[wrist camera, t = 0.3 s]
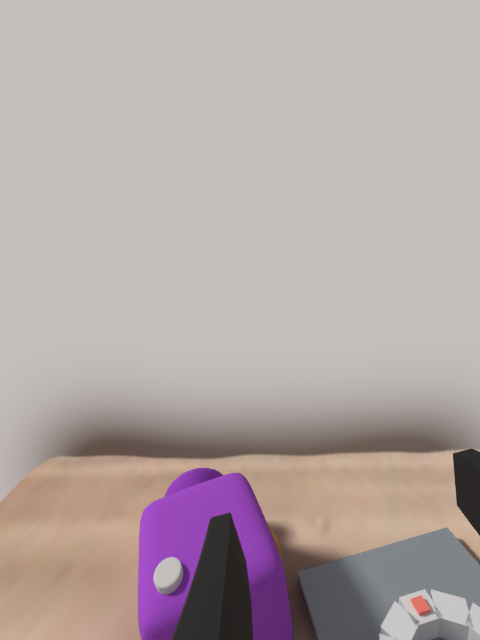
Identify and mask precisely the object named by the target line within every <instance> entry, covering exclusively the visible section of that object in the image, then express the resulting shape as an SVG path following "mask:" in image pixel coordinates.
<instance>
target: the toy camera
mask: <svg viewBox="0 0 480 640" xmlns="http://www.w3.org/2000/svg"><path fill="white" fill-rule="evenodd" d="M230 512H231V515H232V518H233V521H234V525H235V528H236V531H237V534H238V537H239V540H240V543H241V546H242V549H243V553H244V556H245V559H246V563H247V571H248V579H249V587H250V595H251V604H252V626H253V640H293V625H292V617H291V610H290V603H289V596H288V590H287V583H286V577H285V571H284V567H283V561H282V554H281V548H280V542H279V540H278V538H277V537H276V535H275V533H274V532H273V530H272V529H271V528H270V526H269V525H268V523H267V522H266V520H265V518H264V515H263V513H262V511H261V508H260V506H259V504H258V501H257V499H256V497H255V495H254V492H253V490H252V488H251V486H250V484H249V482H248V481H247V479H246V478H245V477H244V476H243V475H242V474H240V473H231V474H227V475H224V476H223V475H222V474H221V473H220V472H218V471H216V470H214V469H210V468H197V469H193V470H190V471H187V472H185V473H183V474H182V475H180V476H179V477H178V478H177V479H175V480H174V481H173V483H172V484H171V485H170V486H169V488H168V490H167V492H166V494H165V497H163V498H161V499H159V500H157V501H155V502H153V503H151V504H149V505H148V506H147V507H146V508H145V509H144V511H143V513H142V517H141V522H140V534H139V575H138V621H139V630H140V635H141V639H142V640H171V639H172V636H173V633H174V631H175V628H176V625H177V623H178V620H179V617H180V615H181V612H182V609H183V607H184V604H185V601H186V598H187V595H188V592H189V589H190V586H191V583H192V580H193V577H194V574H195V571H196V568H197V564H198V561H199V558H200V554H201V551H202V547H203V544H204V540H205V536H206V532H207V528H208V524H209V521H210V519H211V518H212V517H215V516H219V515H222V514H226V513H230Z"/></svg>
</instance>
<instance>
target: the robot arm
mask: <svg viewBox="0 0 480 640" xmlns="http://www.w3.org/2000/svg"><path fill="white" fill-rule="evenodd" d="M453 460H454V473H455V486H456V498H457V506H458V507H459V508H460V510H461V511H462V513H463V514H464V515H465V517H466V518H467V519H468V521H469V522H470V523H471V525H472V526H473V527H474V529H475V530H476V531H477V533H478V534H479V535H480V452H478V451H476V450H474V449H469V450H465V451H461V452H457V453H454V454H453ZM171 640H253V626H252V604H251V595H250V587H249V579H248V571H247V563H246V559H245V556H244V553H243V549H242V546H241V543H240V540H239V537H238V534H237V531H236V528H235V525H234V521H233V518H232V515H231V512H230V513H226V514H222V515H219V516H215V517H212V518H211V519H210V521H209V524H208V528H207V532H206V536H205V540H204V544H203V547H202V551H201V554H200V558H199V561H198V564H197V568H196V571H195V574H194V577H193V580H192V583H191V586H190V589H189V592H188V595H187V598H186V601H185V604H184V607H183V609H182V612H181V615H180V617H179V620H178V623H177V625H176V628H175V631H174V633H173V636H172V639H171Z"/></svg>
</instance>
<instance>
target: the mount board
mask: <svg viewBox="0 0 480 640" xmlns="http://www.w3.org/2000/svg"><path fill="white" fill-rule="evenodd" d="M297 573H298V581H299V584H300V587H301V591H302V594H303V597H304V600H305V603H306V607H307V610H308V613H309V616H310V619H311V623H312V626H313V629H314V632H315V635H316V639H317V640H480V565H479V563H478V562H477V561H476V560H475V559H474V558H473V557H472V555H471V554H470V553H469V552H468V551H467V550H466V549H465V547H464V546H463V545H462V544H461V543H460V542H459V541H458V539H457V538H456V537H455V536H454V535H453V534H452V533H451V532H450V530H449V529H448V528H444V529H440V530H437V531H434V532H430V533H427V534H423V535H420V536H417V537H413V538H410V539H406V540H403V541H400V542H396V543H393V544H389V545H386V546H383V547H379V548H376V549H373V550H369V551H366V552H362V553H359V554H356V555H352V556H349V557H345V558H342V559H339V560H335V561H332V562H328V563H325V564H322V565H318V566H315V567H312V568H308V569H305V570H301V571H298V572H297Z"/></svg>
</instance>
